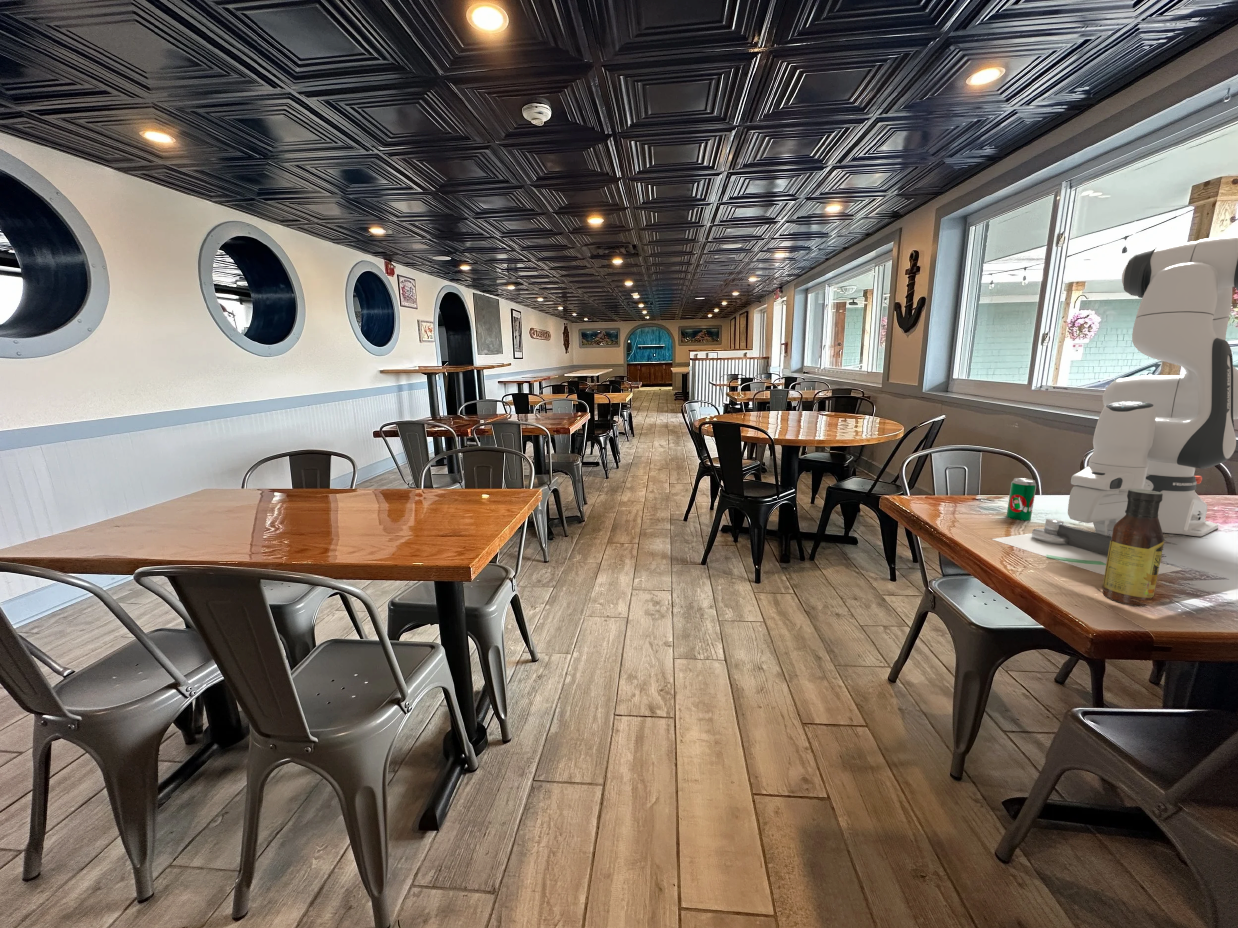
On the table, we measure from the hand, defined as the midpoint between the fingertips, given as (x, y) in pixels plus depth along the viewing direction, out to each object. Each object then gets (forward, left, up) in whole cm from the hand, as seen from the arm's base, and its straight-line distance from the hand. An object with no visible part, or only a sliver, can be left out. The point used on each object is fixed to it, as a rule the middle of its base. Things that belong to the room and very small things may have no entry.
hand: (1103, 537), depth 105 cm
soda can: (-6, -21, -4) cm, 22 cm away
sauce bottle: (+23, +16, -4) cm, 28 cm away
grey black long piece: (+6, -2, -2) cm, 7 cm away
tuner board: (+9, +1, -4) cm, 10 cm away
